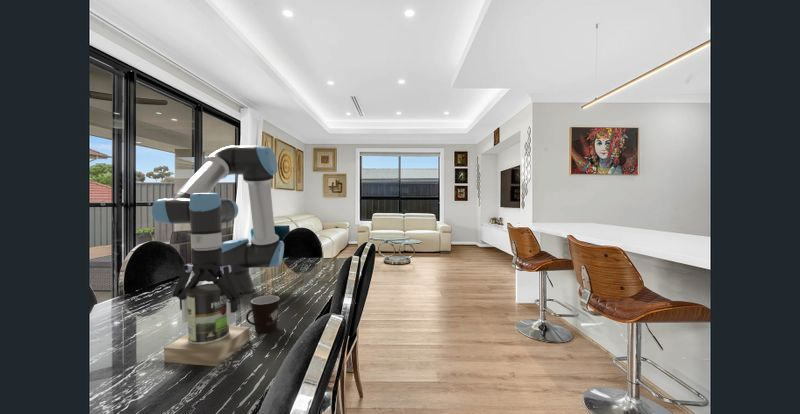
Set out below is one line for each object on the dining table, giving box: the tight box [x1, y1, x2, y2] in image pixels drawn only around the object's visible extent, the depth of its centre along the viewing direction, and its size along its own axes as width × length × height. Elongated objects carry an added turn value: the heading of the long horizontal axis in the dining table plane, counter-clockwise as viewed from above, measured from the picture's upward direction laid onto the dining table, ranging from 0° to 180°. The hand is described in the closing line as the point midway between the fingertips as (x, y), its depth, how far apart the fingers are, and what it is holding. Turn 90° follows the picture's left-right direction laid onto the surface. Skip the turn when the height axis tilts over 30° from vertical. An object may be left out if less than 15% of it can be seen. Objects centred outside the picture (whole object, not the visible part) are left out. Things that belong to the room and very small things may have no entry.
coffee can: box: [186, 282, 230, 345], centre depth 94 cm, size 10×10×14 cm
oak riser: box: [163, 325, 251, 367], centre depth 94 cm, size 15×15×4 cm
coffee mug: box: [245, 294, 280, 335], centre depth 107 cm, size 12×9×10 cm
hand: (209, 322), depth 94 cm, fingers open, 13 cm apart
